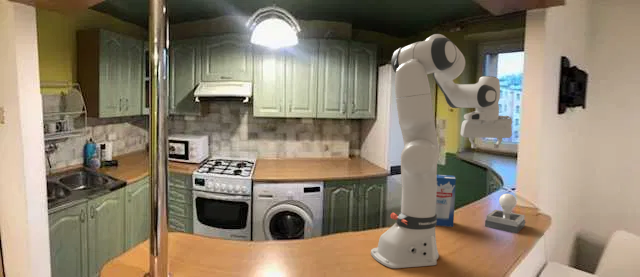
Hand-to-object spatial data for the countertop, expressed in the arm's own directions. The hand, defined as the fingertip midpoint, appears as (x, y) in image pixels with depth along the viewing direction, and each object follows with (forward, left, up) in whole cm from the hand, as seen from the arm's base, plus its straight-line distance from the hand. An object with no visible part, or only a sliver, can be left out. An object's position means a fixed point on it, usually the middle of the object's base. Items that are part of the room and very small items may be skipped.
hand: (485, 148), depth 159 cm
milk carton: (-20, +2, -31) cm, 37 cm away
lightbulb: (+3, -10, -29) cm, 31 cm away
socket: (+3, -10, -31) cm, 33 cm away
